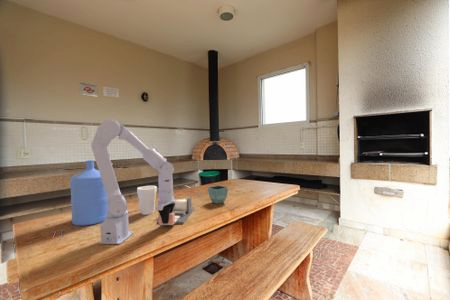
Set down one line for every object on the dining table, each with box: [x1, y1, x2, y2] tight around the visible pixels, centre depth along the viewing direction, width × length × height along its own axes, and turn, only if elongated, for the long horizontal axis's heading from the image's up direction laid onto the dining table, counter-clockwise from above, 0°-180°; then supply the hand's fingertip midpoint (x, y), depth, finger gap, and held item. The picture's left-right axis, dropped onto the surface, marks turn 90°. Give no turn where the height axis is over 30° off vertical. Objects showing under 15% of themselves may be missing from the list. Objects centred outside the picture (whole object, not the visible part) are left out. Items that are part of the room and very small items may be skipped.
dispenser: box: [156, 196, 195, 225], centre depth 101 cm, size 20×12×8 cm, turn 174°
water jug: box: [69, 160, 108, 227], centre depth 97 cm, size 16×16×28 cm
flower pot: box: [207, 185, 229, 205], centre depth 122 cm, size 9×9×9 cm
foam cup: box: [136, 185, 158, 216], centre depth 106 cm, size 10×9×13 cm
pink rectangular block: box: [158, 213, 180, 226], centre depth 91 cm, size 10×6×4 cm, turn 175°
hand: (166, 221), depth 87 cm, fingers closed on pink rectangular block, 2 cm apart
